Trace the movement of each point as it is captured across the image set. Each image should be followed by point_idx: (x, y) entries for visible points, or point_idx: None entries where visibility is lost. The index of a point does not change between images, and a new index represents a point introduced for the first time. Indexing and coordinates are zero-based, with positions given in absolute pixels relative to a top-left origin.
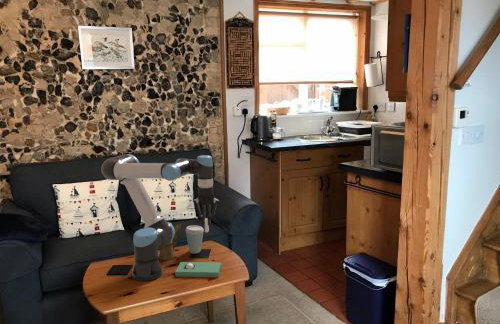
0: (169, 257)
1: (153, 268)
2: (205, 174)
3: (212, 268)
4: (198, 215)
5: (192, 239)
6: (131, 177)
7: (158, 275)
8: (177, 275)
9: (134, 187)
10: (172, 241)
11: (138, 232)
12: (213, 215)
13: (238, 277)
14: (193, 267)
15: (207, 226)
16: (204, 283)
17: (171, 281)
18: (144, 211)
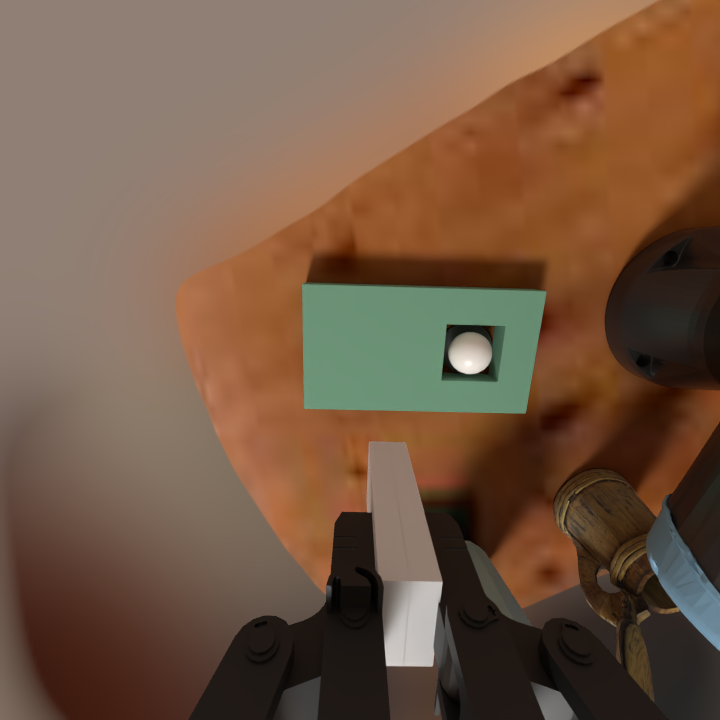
0: (583, 482)
1: (694, 268)
2: None
3: (342, 335)
4: (652, 705)
5: (494, 600)
6: None
7: (630, 272)
8: (525, 289)
9: None
10: (614, 575)
11: None
12: (205, 706)
13: (198, 278)
14: (449, 349)
15: (377, 488)
16: (370, 204)
17: (550, 228)
18: None
